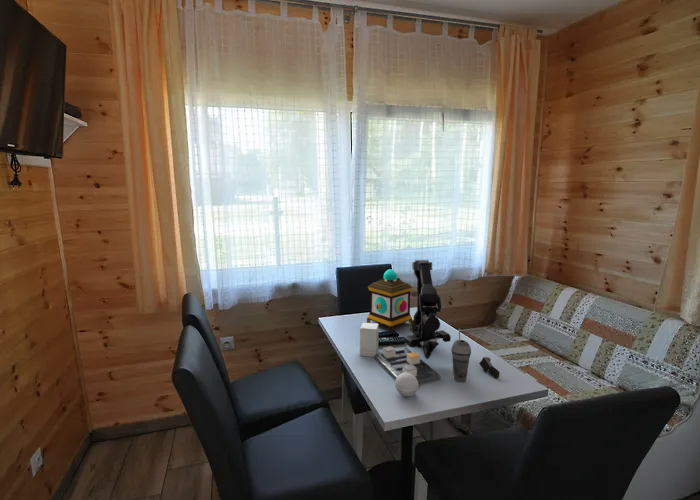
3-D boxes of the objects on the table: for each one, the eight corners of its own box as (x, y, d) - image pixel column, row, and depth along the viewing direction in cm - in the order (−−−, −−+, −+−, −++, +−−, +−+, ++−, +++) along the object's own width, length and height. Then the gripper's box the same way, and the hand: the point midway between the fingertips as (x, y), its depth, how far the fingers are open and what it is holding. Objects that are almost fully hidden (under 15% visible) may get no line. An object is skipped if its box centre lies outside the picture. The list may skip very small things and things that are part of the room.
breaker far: (391, 353, 156) (391, 346, 155) (395, 357, 153) (395, 349, 152) (383, 355, 155) (383, 347, 154) (386, 359, 151) (386, 351, 151)
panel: (407, 352, 161) (407, 347, 161) (440, 379, 138) (440, 373, 138) (374, 358, 156) (374, 352, 155) (402, 387, 133) (402, 381, 132)
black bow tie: (496, 381, 142) (503, 373, 138) (491, 382, 141) (498, 375, 137) (483, 362, 148) (489, 354, 144) (478, 363, 147) (485, 355, 143)
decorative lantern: (363, 323, 196) (363, 269, 191) (387, 315, 209) (388, 263, 204) (391, 334, 181) (392, 275, 176) (416, 324, 194) (417, 269, 189)
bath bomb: (404, 386, 134) (405, 365, 133) (422, 395, 128) (423, 373, 127) (390, 394, 129) (390, 373, 127) (408, 404, 123) (408, 382, 121)
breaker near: (411, 372, 140) (411, 364, 140) (416, 376, 137) (416, 368, 136) (402, 374, 139) (402, 365, 138) (407, 378, 136) (407, 370, 135)
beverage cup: (466, 386, 133) (469, 334, 130) (447, 381, 137) (449, 330, 134) (471, 377, 140) (474, 328, 136) (452, 372, 143) (455, 324, 140)
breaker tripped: (415, 359, 150) (415, 352, 150) (419, 363, 147) (420, 355, 146) (406, 361, 149) (406, 353, 148) (411, 365, 146) (411, 357, 145)
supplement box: (376, 357, 157) (376, 329, 155) (359, 355, 158) (359, 328, 156) (378, 350, 164) (378, 323, 162) (362, 348, 165) (362, 322, 163)
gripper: (436, 313, 158) (435, 347, 161) (398, 318, 152) (397, 353, 154) (452, 321, 148) (450, 357, 151) (411, 327, 141) (410, 365, 144)
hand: (426, 358), depth 150 cm, fingers closed
